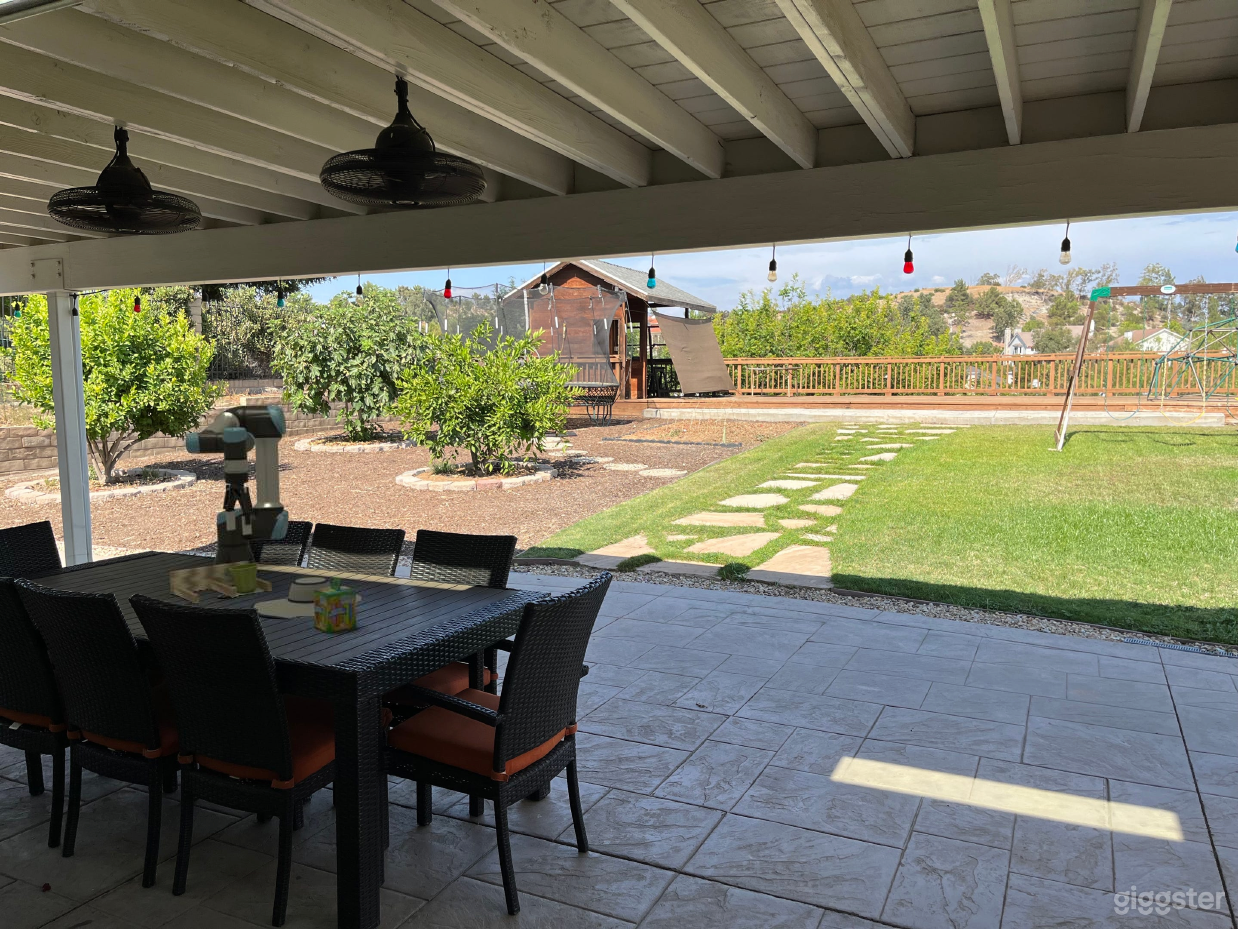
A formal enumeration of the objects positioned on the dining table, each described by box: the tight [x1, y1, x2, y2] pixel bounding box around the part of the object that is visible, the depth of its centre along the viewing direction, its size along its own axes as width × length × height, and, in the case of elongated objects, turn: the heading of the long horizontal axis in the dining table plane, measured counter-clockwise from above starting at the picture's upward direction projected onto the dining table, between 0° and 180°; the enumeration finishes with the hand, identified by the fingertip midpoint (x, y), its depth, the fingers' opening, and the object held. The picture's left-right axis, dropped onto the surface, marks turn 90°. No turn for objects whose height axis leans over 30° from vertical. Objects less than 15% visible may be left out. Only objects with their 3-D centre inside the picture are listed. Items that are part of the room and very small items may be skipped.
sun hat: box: [250, 576, 362, 620], centre depth 283 cm, size 36×36×9 cm
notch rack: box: [169, 561, 273, 604], centre depth 301 cm, size 27×21×8 cm
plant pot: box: [229, 562, 259, 592], centre depth 302 cm, size 9×9×9 cm
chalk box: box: [313, 576, 357, 634], centre depth 254 cm, size 9×9×15 cm
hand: (239, 532), depth 303 cm, fingers open, 13 cm apart
